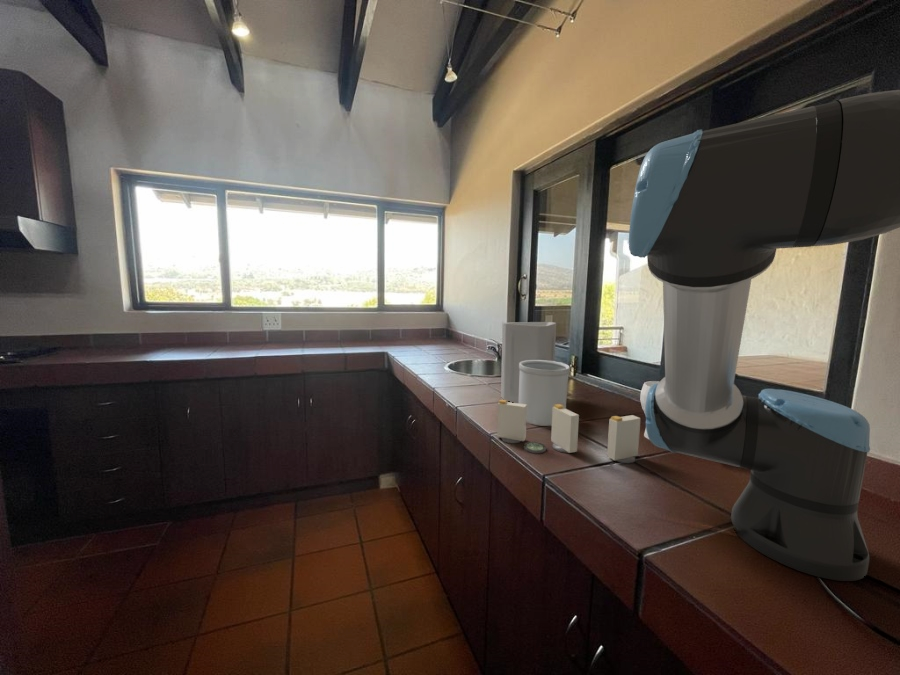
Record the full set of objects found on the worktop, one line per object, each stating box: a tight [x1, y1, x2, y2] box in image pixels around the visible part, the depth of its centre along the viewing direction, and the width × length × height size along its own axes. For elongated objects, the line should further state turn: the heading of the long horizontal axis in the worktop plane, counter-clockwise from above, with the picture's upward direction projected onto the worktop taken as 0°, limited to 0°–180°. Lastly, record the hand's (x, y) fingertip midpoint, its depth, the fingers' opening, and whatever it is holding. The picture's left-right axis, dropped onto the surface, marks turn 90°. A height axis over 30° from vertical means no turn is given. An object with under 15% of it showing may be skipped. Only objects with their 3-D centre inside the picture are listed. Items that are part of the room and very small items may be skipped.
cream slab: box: [496, 398, 527, 444], centre depth 89 cm, size 5×7×10 cm
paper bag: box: [500, 321, 557, 403], centre depth 122 cm, size 19×15×28 cm
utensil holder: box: [519, 360, 571, 427], centre depth 105 cm, size 15×15×18 cm
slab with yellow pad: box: [606, 414, 641, 464], centre depth 79 cm, size 5×7×10 cm
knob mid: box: [550, 404, 580, 454], centre depth 84 cm, size 5×7×10 cm
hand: (709, 326), depth 73 cm, fingers open, 13 cm apart
